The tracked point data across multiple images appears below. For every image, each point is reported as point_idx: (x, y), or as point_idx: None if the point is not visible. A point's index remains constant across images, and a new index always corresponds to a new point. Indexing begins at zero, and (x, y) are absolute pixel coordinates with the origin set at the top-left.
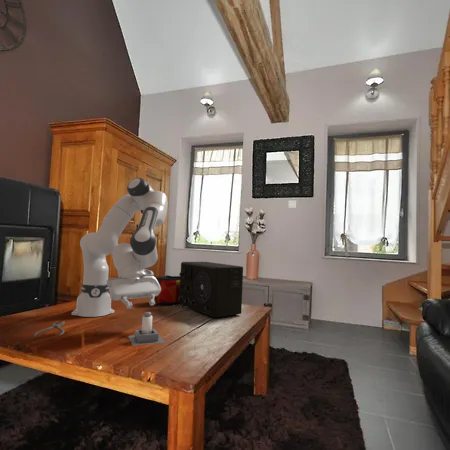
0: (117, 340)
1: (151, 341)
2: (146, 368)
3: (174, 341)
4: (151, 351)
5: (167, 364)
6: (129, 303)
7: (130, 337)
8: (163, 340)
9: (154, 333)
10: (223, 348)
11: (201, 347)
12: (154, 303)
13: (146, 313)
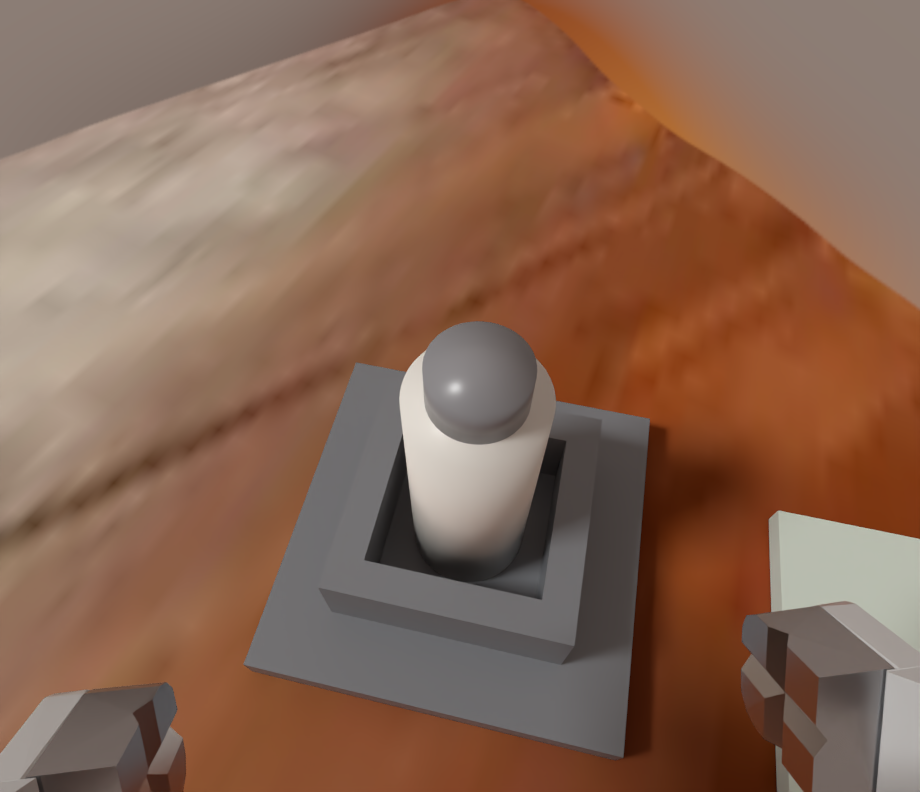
0: (748, 756)
1: None
2: (639, 138)
3: (224, 424)
4: (519, 316)
5: (515, 130)
6: (860, 640)
7: (612, 670)
8: (340, 410)
9: None
10: (53, 158)
11: (155, 227)
12: (81, 697)
13: (513, 343)
